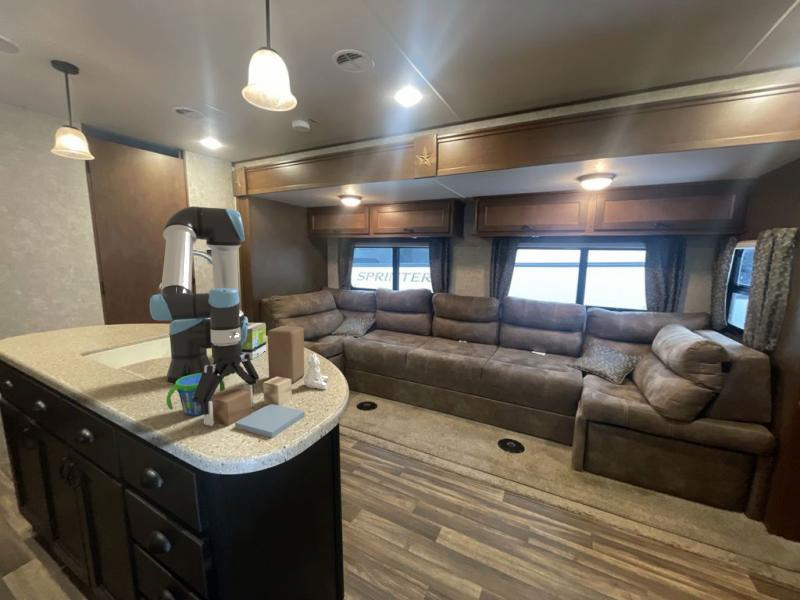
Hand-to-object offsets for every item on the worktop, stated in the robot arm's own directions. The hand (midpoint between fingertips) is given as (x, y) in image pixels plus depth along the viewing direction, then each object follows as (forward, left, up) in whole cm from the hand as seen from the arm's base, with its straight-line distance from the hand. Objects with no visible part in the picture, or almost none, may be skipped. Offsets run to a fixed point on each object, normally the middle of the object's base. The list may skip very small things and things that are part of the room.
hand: (230, 414), depth 96 cm
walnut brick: (0, 0, -1) cm, 1 cm away
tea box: (-44, +49, -1) cm, 66 cm away
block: (-6, +31, -1) cm, 32 cm away
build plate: (+13, +3, -1) cm, 13 cm away
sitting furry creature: (+8, +30, -1) cm, 31 cm away
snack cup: (-12, -1, -1) cm, 12 cm away
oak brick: (+5, +14, -1) cm, 15 cm away
